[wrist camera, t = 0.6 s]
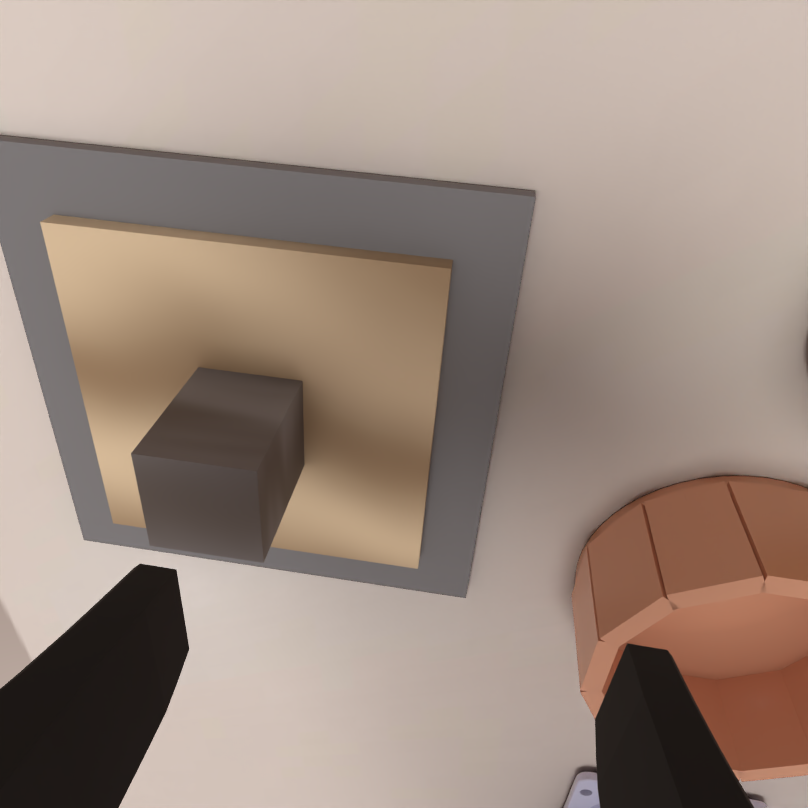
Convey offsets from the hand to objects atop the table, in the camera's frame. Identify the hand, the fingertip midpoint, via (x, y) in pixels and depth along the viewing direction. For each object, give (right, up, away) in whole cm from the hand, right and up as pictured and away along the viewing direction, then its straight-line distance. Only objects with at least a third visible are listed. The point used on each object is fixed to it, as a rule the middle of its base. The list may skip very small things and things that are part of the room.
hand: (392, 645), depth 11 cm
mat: (-4, +4, +10) cm, 11 cm away
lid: (-4, +4, +9) cm, 11 cm away
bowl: (+10, -2, +11) cm, 15 cm away
